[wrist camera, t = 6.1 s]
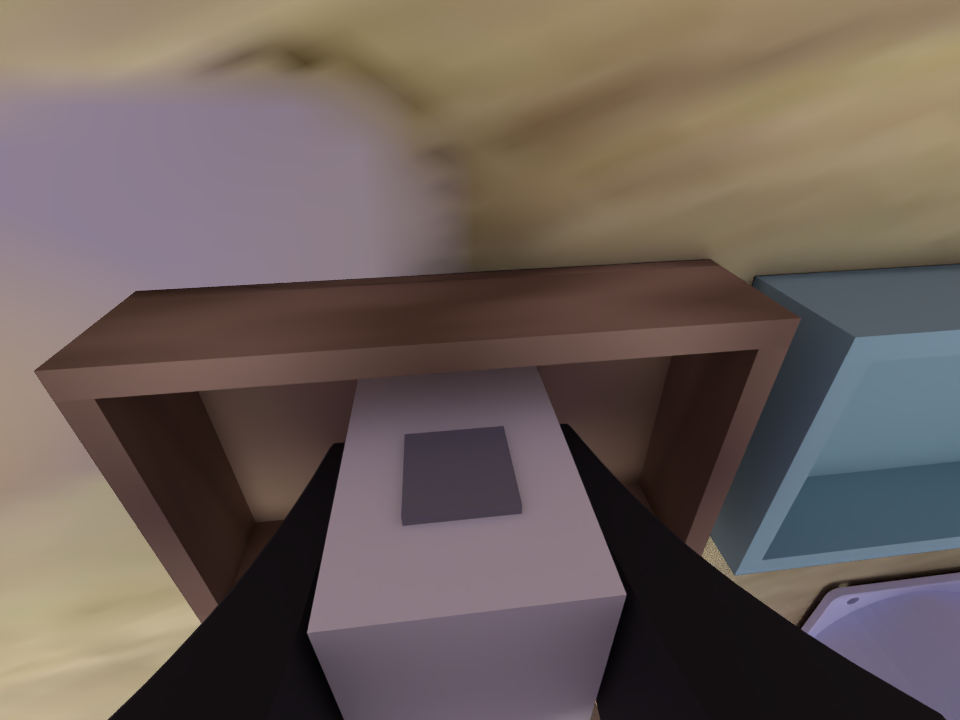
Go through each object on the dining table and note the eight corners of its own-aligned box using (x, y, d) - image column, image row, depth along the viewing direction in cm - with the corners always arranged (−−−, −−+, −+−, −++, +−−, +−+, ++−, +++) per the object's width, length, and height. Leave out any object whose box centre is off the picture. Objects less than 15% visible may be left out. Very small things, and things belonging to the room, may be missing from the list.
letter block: (535, 355, 10) (628, 585, 6) (527, 483, 13) (589, 721, 8) (357, 368, 10) (303, 624, 5) (382, 497, 12) (359, 755, 8)
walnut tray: (710, 259, 11) (800, 318, 8) (647, 485, 15) (695, 570, 12) (135, 291, 9) (34, 371, 7) (244, 526, 14) (205, 629, 11)
